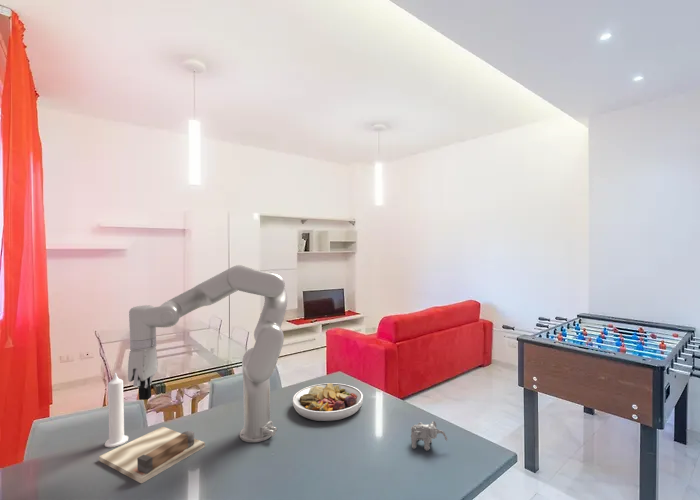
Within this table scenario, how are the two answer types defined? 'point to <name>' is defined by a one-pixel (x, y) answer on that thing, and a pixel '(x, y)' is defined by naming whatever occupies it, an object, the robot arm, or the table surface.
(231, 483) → the table surface
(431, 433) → the gray elephant figurine
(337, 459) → the table surface
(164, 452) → the bar
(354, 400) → the bowl
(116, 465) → the ash board
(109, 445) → the candle
